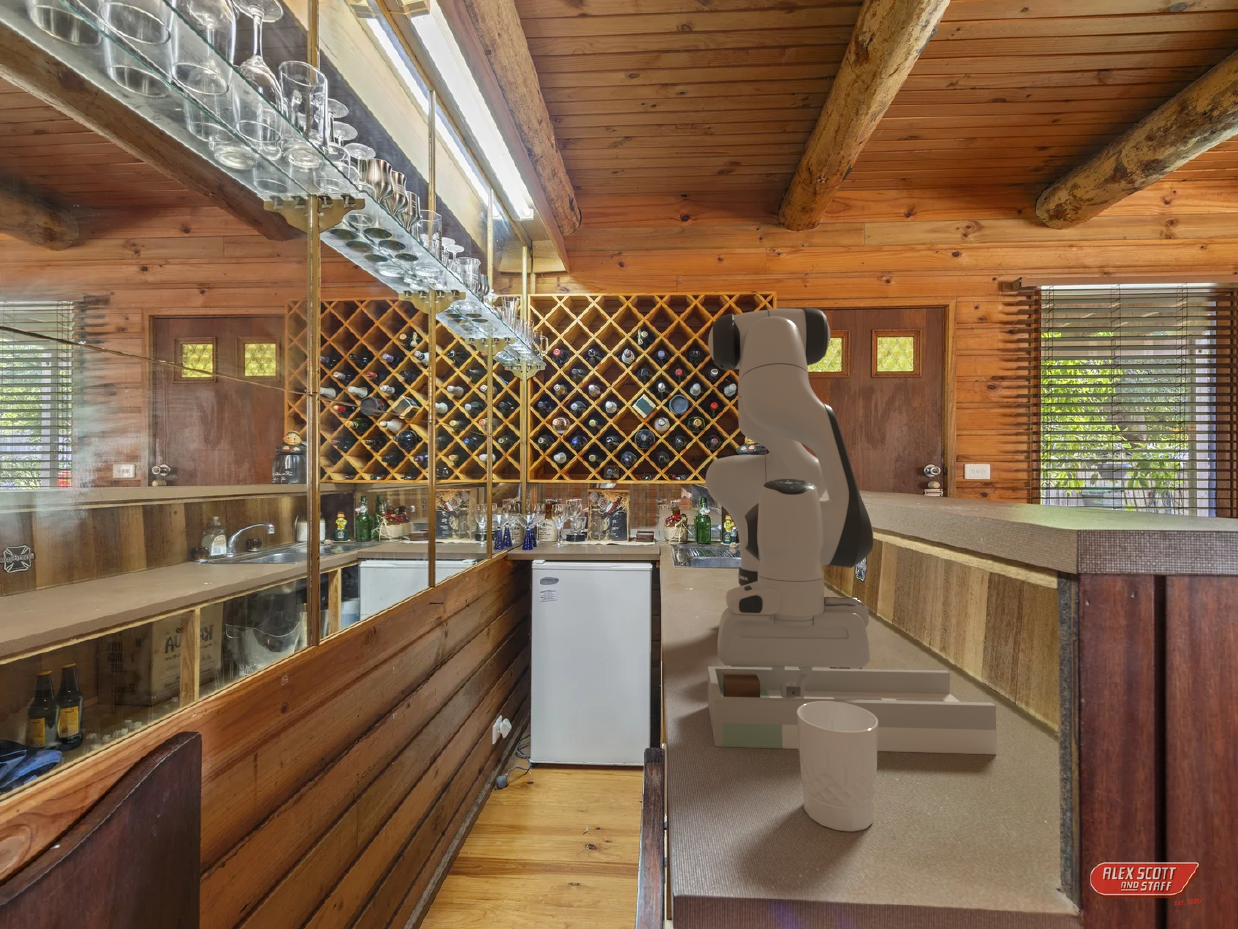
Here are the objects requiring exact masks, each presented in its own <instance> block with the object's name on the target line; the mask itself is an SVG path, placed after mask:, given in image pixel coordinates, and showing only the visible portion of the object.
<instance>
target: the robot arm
mask: <svg viewBox="0 0 1238 929" xmlns="http://www.w3.org/2000/svg"><path fill="white" fill-rule="evenodd" d="M830 341H831V328H830V325H829V322H828V319H827V316H826V314H825V313H824V312H823V311H822V309H818V308H812V307H802V309H801V308H767V309H766V310H765V309H764V310H756V311H755V310H754V311H748V312H743V313H737V314H733V313H729V314H725V315H721V316H719V317H717V318H716V319H715V320H714V321H713V323H712V327H711V328H710V331H709V335H708V340H707V344H708V345H707V346H708V352H709V354H710V356H711V359H712V360H713V364H714V365H715V366H716V367H718V368H719V369H721V370H726V371H734V370H739V371H738V383H737V401H738V402H737V408H738V410H737V411H738V412H737V413H738V417H737V418H738V427H739V430H740V432H741V434H742V435H744V436H745V437H746V438H747V439H749V440H750V441H751V442H754V443H757V444H759V445H761V446H763V447H764V448H766V449H767V451H768V453H766V454H742V455H741V454H740V455H739V454H738V455H737V454H736V455H731V456H725V457H720V458H716V459H714V460H713V461H712V462H711V464H710V465H709V467H708V468H707V470H706V474H705V486H706V489H707V492H708V494H709V496H710V497H711V498H712V499H713V501H715V502H717V504H719V505H720V506H721V507H723V509H724V510H726V512H727V513H728V514H729V516H730V517H731V519H732V521H733V522H734V525H735V527H736V530H737V534H738V541H739V552H740V566H739V568H738V574H737V577H738V584H739V586H737V587H734V588H731V589H729V590H727V592H726V594H725V601H726V603H725V604H726V606H727V607H726V609H724V610H723V612H722V614H721V615H720V616H721V617H720V620H719V626H718V632H717V633H718V634H717V657H718V659H719V661H721V663H722V664H723V665H724V666H731V665H735V666H772V670H773V672H774V674H775V676H776V677H777V679H778V681H779V682H780V692H781V696H782V698H804V687H805V686H806V684H807V683H808V681H809V679H810V678H811V676H812V668H830V667H843V668H862V669H865V667H866V666H867V665H868V664H869V662H870V661H871V654H870V644H869V637H868V632H867V627H868V626H869V623H870V622H869V620H870V616H869V608H868V606H867V605H866V604H865V603H864V602H863V601H861V600H858V598H857V597H852V596H849V597H839V596H825V574H824V569H823V567H822V565H826V566H829V567H831V566H832V567H838V568H839V567H840V568H848V569H849V568H850V569H851V568H853V567H855V566H857V565H858V564H860V563H861V562H863V560H865V559H866V558H867V557H868V556H869V555H870V553H871V552H872V551H873V548H874V529H873V525H872V523H871V522H872V521H871V520H870V516H869V513H868V511H867V508H866V506H865V503H864V501H863V499H862V496H861V493H860V490H859V487H858V486H859V485H858V484H857V480H856V477H855V474H854V470H853V466H852V462H851V459H850V457H849V453H848V449H847V446H846V443H845V439H844V436H843V433H842V429H841V427H840V424H839V420H838V418H837V416H836V413H835V412H834V410H833V409H832V407H831V406H830V405H829V404H826V403H824V402H822V401H821V400H820V399H819V397H818V396H817V395H816V393H815V392H814V390H813V389H812V387H811V384H810V378H809V370H808V366H811V365H814V364H817V363H819V362H820V361H822V359H823V358H824V357H825V356H826V354H827V350H828V348H829V346H830V343H831V342H830ZM803 445H805V446H806V447H808V448H809V449H810V450H811V451H812V452H813V453H814V454H815V455H813V454H812V453H810V452H809V451H808V450H807V449H806V448H805V447H804V446H803ZM826 491H827V496H828V499H827V500H820V499H821V497H823V496H824V494H825V492H826ZM786 667H787V668H799V670H800V671H801V674H800V676H799V678H798V680H797V682H785V681H784V679H783V677H782V676H781V674H784V673H785V668H786ZM780 673H781V674H780Z"/></svg>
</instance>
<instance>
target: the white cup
mask: <svg viewBox="0 0 1238 929" xmlns="http://www.w3.org/2000/svg"><path fill="white" fill-rule="evenodd" d="M797 723H798V740H799V749H798V752H799V753H798V756H799V765H800V777H801V781H802V791H803V792H802V795H803V798H802V799H803V810H804V811H805V812H806V813H807V816H808V817H809V818H810V819H811V820H813V821H814V822H816V823H818V824H819V825H821V826H824V827H826V828H828V829H832V830H834V831H835V830H836V831H841V832H842V831H843V832H850V833H851V832H852V833H853V832H857V831H863V830H867V829H868V828H869V826H871V825H872V824H873V823H874V808H875V807H874V803H875V802H874V801H875V796H876V795H875V794H876V792H877V791H876V787H877V786H876V785H877V770H878V769H877V768H878V751H877V743H878V719H877V718H876V716H875V715H873V714H872V713H871V712H869V711H867V710H865V709H863V708H861V707H858V706H855V705H851V704H847V703H842V702H834V701H816V702H810V703H806V704H803V705H801V706H800V707H799V708H798V709H797Z"/></svg>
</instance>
